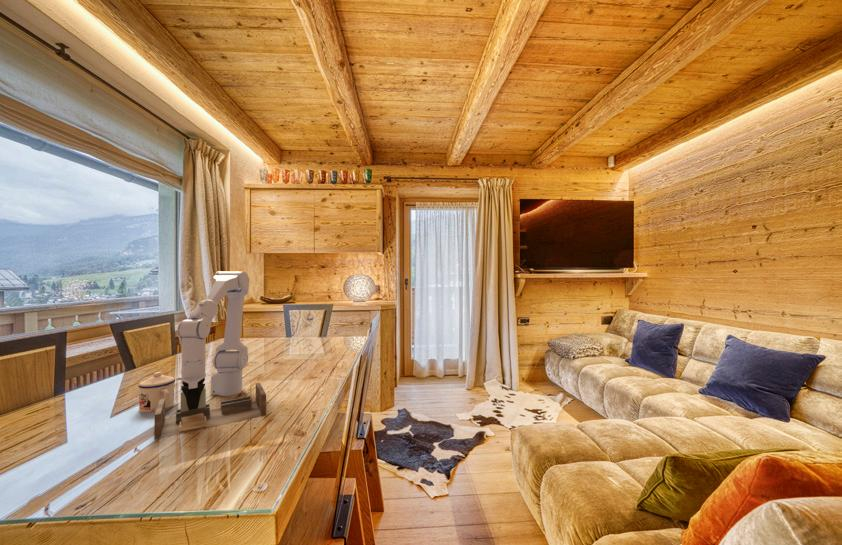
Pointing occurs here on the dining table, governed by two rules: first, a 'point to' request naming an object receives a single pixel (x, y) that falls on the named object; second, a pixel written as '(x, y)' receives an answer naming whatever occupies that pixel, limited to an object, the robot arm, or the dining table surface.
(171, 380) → the teacup with lid
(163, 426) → the rack
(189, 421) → the offcut upper
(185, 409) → the beige flat block
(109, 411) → the dining table surface
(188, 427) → the offcut lower
